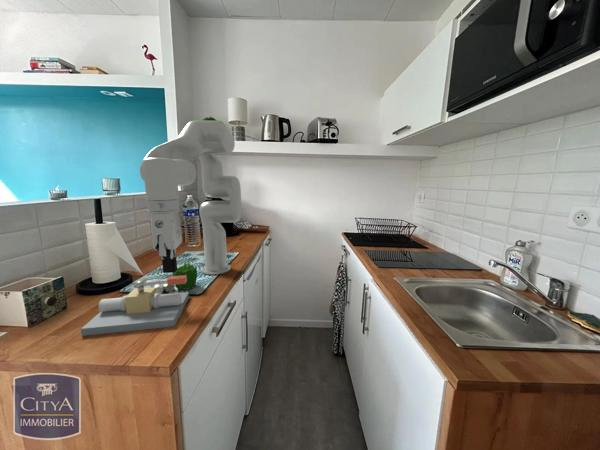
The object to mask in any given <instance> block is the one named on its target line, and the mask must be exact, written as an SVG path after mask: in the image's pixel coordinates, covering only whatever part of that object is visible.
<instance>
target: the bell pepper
mask: <svg viewBox="0 0 600 450" xmlns="http://www.w3.org/2000/svg"><path fill="white" fill-rule="evenodd" d="M181 275H187V282H186V284H177V285H175V287H176V289H177V290H180V291H183V290H191V289H194V288H195V286H196V284H197V280H198V279H197V278H198V270H197V268H196V267H194V265H193V264H191V263H189V262H186V263H185V262H184V264H183V265H180V266H179V267H177V271H176V272H173V273H172V276H181Z"/></svg>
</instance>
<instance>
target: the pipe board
mask: <svg viewBox="0 0 600 450" xmlns="http://www.w3.org/2000/svg"><path fill="white" fill-rule="evenodd" d="M189 293H190V292H189V291H185V292H183V291H182V292H173V293H162V294H161V293H156V287H153V288H151V287H144V291H143V292H138V289H137V288H133V289H132V290H131V291H130V292H129V293H128V294H127V295H123V296H121V297H120V296H119V297H115V298H114V297H112V298H102V299H100V300H99V303H98V311H99V313H98V314H96V315H95V316H94V317H93V318H91V320H89V322H87V323H85V325H83V327H81V328H80V331H81V332H80V333H81V336H82V337H84V336H85V337H86V336H87V337H88V336H96V335H104V334H113V333H114V334H115V333H124V332H125V333H126V332H133V331H134V332H135V331H142V330H143V331H144V330H151V329H163V328H171V327H172V328H173V327H175V326H176V324H177V322H178V321H179V318H180V316H181V314H182V312H183V310H184V309H185V306H186V304H187V303H188V301H189V299H190V294H189Z"/></svg>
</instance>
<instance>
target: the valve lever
mask: <svg viewBox="0 0 600 450" xmlns="http://www.w3.org/2000/svg"><path fill="white" fill-rule="evenodd" d="M155 279H156V278H155ZM186 282H187V275H181V276H173V275H172V276H168V278H157V279H156V280H154V279H145V278H143V279H142V278H141V279H137V280H134V281H133V289H138V292H143V291H144V288H146V287H147V286H150V285H159V284H167V285H174V286H176V285H177V284H186Z"/></svg>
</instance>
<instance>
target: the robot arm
mask: <svg viewBox="0 0 600 450" xmlns="http://www.w3.org/2000/svg"><path fill="white" fill-rule="evenodd" d="M235 143H236V142H235V138H234V135H233V134H232V132H231V130H230V129H229V128H228V127H227V126H226V125H225V124H224V123H223V122H222V121H219V120H208V119H207V120H206V119H205V120H203V119H201V120H200V119H198V120H197V119H196V120H191V121H189V122H188V123H186V125H185V126H184V127H183V129H182V130H181V132H180V133H179V134H178V136H177V138H173V139H171V140H169V141H166V142H164V143H161V144H159V145H157V146H155V147H153V148H152V149H151V150H150V151H149V152H148V153H147V154H146V156H144V158H143V160H142V162H141V163H140V166H139V174H140V177H141V178H140V179H142V181H143V182H144V191H145V198H146V199H145V200H146V210H147V213H148V214H150V225H151V227H150V228H151V230H150V231H151V239H152V240H151V241H152V247H153V250H154V251H156V252H158V253H159V254H158V256H159V257H161V263H162V264H161V265H162V272H163V274H173V272H176V271H177V268H178V263H177V262H178V261H177V248H178V247H179V246H180V245H181V244H182V243H183V232H182V226H181V218H180V214H179V212H180V211H181V208H180V207H181V206H180V205H181V204H180V195H179V187H183V186H184V187H185V186H190V185H191V184H193V183H194V182H195V181H196V178H197V169H196V166H195V165H194V164H193V163H192V161H193V162H194V161H196V160H197V159H199V161H200V166H201V180H202V181H201V183H202V184H201V185H202V192H203V194H204V196H205V197H208V198H214V199H215V198H216V199H220V198H221V199H222V198H223V199H229V200H207V201H203V202H202V203H201V204H200V206H199V209H198V210H199V217H200V220H201V226H202V233H203V250H204V251H203V253H204V256H203V257H204V266H203V267H202V268H201V273H203V274H205V275H210V276H211V275H212V276H213V275H215V274H216V275H221V274H226V273H227V272H230V271H231V269H232V268H231V267H232V266H231V265H230V264H228V258H227V256H228V252H227V233H226V230H225V229H226V228H224V226H223V225H222V224H223V223H237V222H239V221H240V220H241V218H242V190H241V182H240V180H239V178H238V177H236V176H235V175H223V163H222V162H221V160H220V158H219V157H218V156H217V155H216V154H231V153H233V151H234V149H235V146H236V145H235Z"/></svg>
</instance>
